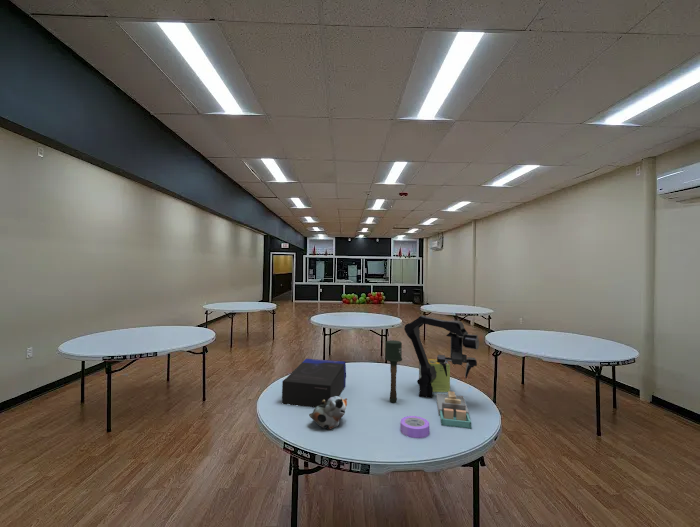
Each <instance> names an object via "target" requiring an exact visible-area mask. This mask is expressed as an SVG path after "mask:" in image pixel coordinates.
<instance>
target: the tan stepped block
mask: <svg viewBox="0 0 700 527" xmlns="http://www.w3.org/2000/svg"><path fill="white" fill-rule="evenodd" d="M447 395H448V398H445V403H444V402H442V410H444V408H447V409H453V411H456V410H465V411H466V406H467V404H466V405H464V404H461V400H459V399H456V393H455V391H451V390H450V391H448V392H447Z"/></svg>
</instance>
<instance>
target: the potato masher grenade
mask: <svg viewBox="0 0 700 527" xmlns="http://www.w3.org/2000/svg"><path fill="white" fill-rule="evenodd" d="M402 344H403V342H402V341H400V340H395V339H393V340H392V339H391V340H386V342H385V361H388V362H389V363H390V364H389V365H390V391H389V402H390V403H392V404H395V403H397V400H398V397H397V394H398V393H397V372H398V362H399V363H400V362H402V361H403V358H402V352H403V351H402V350H403V349H402V347H403V345H402Z"/></svg>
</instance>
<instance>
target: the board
mask: <svg viewBox="0 0 700 527" xmlns="http://www.w3.org/2000/svg"><path fill="white" fill-rule="evenodd" d="M435 393H436V405H437V412H438V417H440V411H442V415H443V416H444V410H442V402H444V403H445V398H448V393H447V394H445V393H438V392H435ZM455 395H456V394H455ZM456 399H459V400H461V404H464V405H466V413H468V415H469V416H470V412H469V408H468V406H467V404H466V401H465V398H464V396H463V395H456ZM453 417H456V411H453Z"/></svg>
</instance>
